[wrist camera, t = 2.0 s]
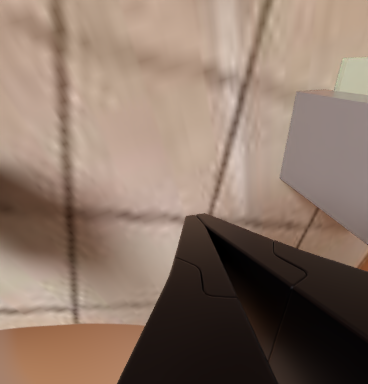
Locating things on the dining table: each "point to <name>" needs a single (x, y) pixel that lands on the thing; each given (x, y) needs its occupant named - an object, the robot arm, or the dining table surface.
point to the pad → (353, 76)
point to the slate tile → (330, 155)
